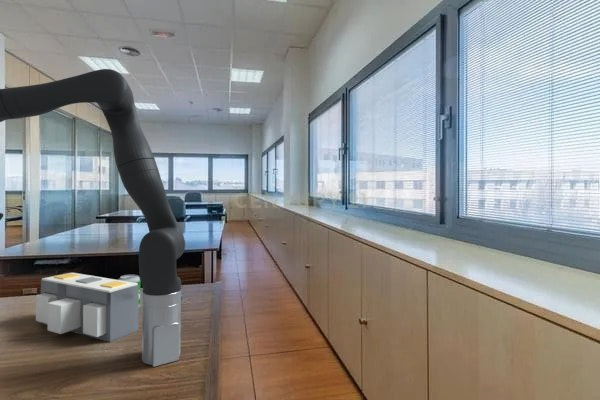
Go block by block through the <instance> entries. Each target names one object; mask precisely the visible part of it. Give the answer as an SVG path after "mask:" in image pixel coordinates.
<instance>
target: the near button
mask: <svg viewBox="0 0 600 400" xmlns="http://www.w3.org/2000/svg"><path fill="white" fill-rule="evenodd" d="M106 325H107V305H105V304H101V303H96V302H93V303H90V304H86V305H83V333H84V334H88V335H91V336H95V337H99V336H101V335H104V334H106Z"/></svg>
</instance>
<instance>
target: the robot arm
mask: <svg viewBox="0 0 600 400" xmlns="http://www.w3.org/2000/svg"><path fill="white" fill-rule="evenodd" d="M133 94H134V93H133V91H132V88H131V86H130V85H129V83H128V82H127V79H126V78H125V77H124V76H123V75H122V74H121V73H120V72H118V71H116V70H114V69H111V68H102V69H96V70H91V71H89V72H85V73H82V74H79V75H74V76H70V77H66V78H63V79H58V80H55V81H49V82H45V83H39V84H31V85H24V86H14V87H5V88H0V123H2V122H5V121H7V120H8V121H9V120H17V119H24V118H30V117H31V118H32V117H36V116H37V117H38V116H41V115H44V114H47V113H51V112H53V111H56V110H58V109H60V108H62V107H66V106H68V105H70V106H71V105H73V104H80V103H81V104H84V103H85V104H86V103H93V104H94V103H96V104H97V106H98V107H99V108H100V110H101V112H102V114H103V115H104V119H105V120H106V122H107V124H108V127H109V129H110V132H111V136H112V145H113V146H112V147H113V148H112V149H113V156H114V161H115V165H116V168H117V172H118V174H119V176H120V180H121V183H122V185H123V187H124V190H126V192H127V194H128V195H129V197H130V198H131V199H132V200H133V202H134V204H136V206H137V207H138V208H139V209H140V211H141V213H142V214H143V216H144V219H145V223H146V225H147V228H148V231H149V232H147V233H146V234H144V235H143V237H142V239H141V240H140V243H139V247H138V267H139V270H138V273H139V275H138V276H139V277H140V285H141V287H142V307H141V308H142V313H141V315H142V316H141V318H142V319H141V323H142V324H141V326H142V327H141V329H142V330H141V332H142V333H141V362H143V363H144V364H146V365H150V366H152V367H158V366H162V365H165V364H169V363H172V362H177V361H179V359H180V356H181V332H182V331H181V328H182V327H181V326H182V325H181V324H182V323H181V322H182V321H181V320H182V318H181V315H182V313H181V311H182V310H181V309H182V305H181V304H182V280H181V278H180V277H179V276H178V274H177V260H178V259H179V258H180V257H181V256H182V255H183V254H184V252H185V248H186V241H185V237H184V234H183V232H182V230H181V228H180V226H179V223H178V222H177V219H176V217H175V214H174V213H173V210H172V208H171V205H170V202H169V199H168V196H167V193H166V190H165V187H164V184H163V183H164V182H163V181H162V177H161V173H160V170H159V167H158V165H157V162H156V160H155V159H156V158H155V157H154V154H153V150H151V147H150V145H149V142H148V140H147V138H146V136H145V134H144V132H143V130H142V127H141V125H140V121H139V117H138V114H137V110H136V109H137V108H136V104H135V99H134V95H133ZM3 218H4V213H3V212H0V221H1V220H2V219H3Z"/></svg>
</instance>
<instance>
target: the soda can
mask: <svg viewBox="0 0 600 400" xmlns="http://www.w3.org/2000/svg"><path fill="white" fill-rule="evenodd" d="M117 280H121V281H127V282H133V283H138V285H139V305H138V308H140V306H141V282H140V276H139V275H137V274H124V275H121V276H120V277H119V278H118V279H117Z"/></svg>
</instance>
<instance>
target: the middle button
mask: <svg viewBox="0 0 600 400" xmlns="http://www.w3.org/2000/svg"><path fill="white" fill-rule="evenodd" d="M79 327H81V299H77V298H72V297H69V298H65V299H61V300H57V301H53V302H50V303H48V325H47V331H48V332H52V333H55V334H59V335H62V334H65V333H68V332H71V330H74V329H77V328H79Z"/></svg>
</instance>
